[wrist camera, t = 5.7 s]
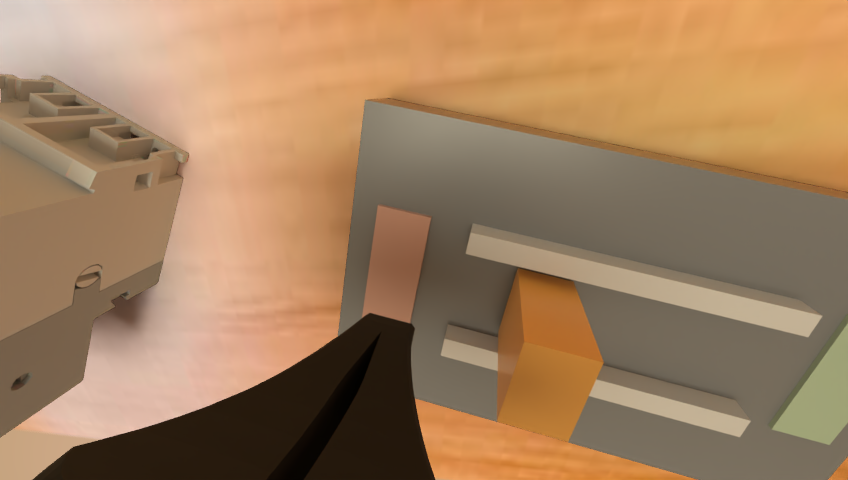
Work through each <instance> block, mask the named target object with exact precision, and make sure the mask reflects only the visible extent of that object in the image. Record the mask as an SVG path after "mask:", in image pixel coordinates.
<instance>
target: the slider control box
mask: <svg viewBox="0 0 848 480" xmlns="http://www.w3.org/2000/svg"><path fill="white" fill-rule="evenodd" d="M518 268H520V269H524V270H528V271H532V272H536V273H540V274H544V275H548V276H552V277H556V278H560V279H565V280H569V281H573V282H574V284H575V287H576V290H577V292H578V295H579V298H580V300H581V303H582V306H583V308H584V311H585V314H586V316H587V319H588V322H589V324H590V327H591V330H592V332H593V335H594V338H595V340H596V343H597V346H598V348H599V351H600V354H601V356H602V359H603V362H604V363H603V366H602V368H601V370H600V372H599V375H598V377H597V379H596V381H595V383H594V386H593V388H592V390H591V392H590V394H589V397H588V399H587V401H586V403H585V406H584V408H583V410H582V412H581V414H580V417H579V419H578V421H577V423H576V426H575V428H574V430H573V432H572V434H571V437H570V439H569V441H568V442H569V443H572V444H576V445H579V446H583V447H586V448H590V449H593V450H597V451H600V452H604V453H607V454H611V455H614V456H618V457H621V458H625V459H628V460H632V461H635V462H639V463H642V464H646V465H649V466H653V467H656V468H659V469H663V470H666V471H670V472H673V473H677V474H680V475H684V476H687V477H691V478H694V479H698V480H828V479H829V478H830V477H831V475H832V474H833V473H834V472H835V471H836V469H837V468H838V467H839V466H840V465H841V464H842V462H843V461H844V460H845V459H846V458H847V457H848V192H843V191H838V190H833V189H829V188H824V187H819V186H814V185H809V184H804V183H799V182H794V181H789V180H785V179H780V178H775V177H770V176H765V175H760V174H755V173H750V172H746V171H741V170H736V169H731V168H726V167H721V166H716V165H711V164H707V163H702V162H697V161H692V160H687V159H682V158H677V157H672V156H667V155H663V154H658V153H653V152H648V151H643V150H638V149H633V148H628V147H624V146H619V145H614V144H609V143H604V142H599V141H594V140H589V139H585V138H580V137H575V136H570V135H565V134H560V133H555V132H550V131H546V130H541V129H536V128H531V127H526V126H521V125H516V124H511V123H506V122H502V121H497V120H492V119H487V118H482V117H477V116H472V115H467V114H463V113H458V112H453V111H448V110H443V109H438V108H433V107H428V106H424V105H419V104H414V103H409V102H404V101H399V100H394V99H389V98H387V99H371V100H365V106H364V114H363V123H362V132H361V140H360V149H359V158H358V166H357V175H356V184H355V192H354V201H353V209H352V218H351V227H350V235H349V244H348V253H347V261H346V270H345V279H344V287H343V296H342V305H341V313H340V322H339V331H338V336H339V335H340V334H342V333H343V332H344V331H346V330H347V329H348V328H350V327H351V326H352V325H354V324H355V323H356V322H357V321H359V320H360V319H361V318H363V317H364V316H365V315H367V314H369V313H373V314H377V315H380V316H384V317H388V318H392V319H396V320H399V321H403V322H407V323H411V324H412V325H413V326H414V328H415V331H414V336H413V341H412V346H411V368H412V382H413V390H414V397H415V398H416V399H419V400H423V401H426V402H430V403H433V404H437V405H440V406H444V407H447V408H451V409H454V410H458V411H461V412H465V413H468V414H472V415H475V416H479V417H482V418H485V419H489V420H492V421H496V422H497V380H498V331H499V328H500V324H501V321H502V318H503V315H504V311H505V308H506V305H507V302H508V298H509V295H510V292H511V289H512V285H513V282H514V279H515V276H516V272H517V269H518ZM499 423H500V422H499ZM506 425H507V424H506ZM513 427H514V426H513ZM520 429H521V428H520ZM527 431H528V430H527ZM534 433H535V432H534ZM541 435H542V434H541ZM548 437H549V436H548Z"/></svg>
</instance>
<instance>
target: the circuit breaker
mask: <svg viewBox="0 0 848 480" xmlns="http://www.w3.org/2000/svg"><path fill="white" fill-rule="evenodd" d="M0 89H1V103H0V437H2V436H3V435H5V434H6V433H7V432H9V431H10V430H12V429H13V428H15V427H16V426H18V425H19V424H21V423H22V422H24V421H25V420H26V419H28V418H29V417H31V416H32V415H34V414H35V413H37V412H38V411H39V410H41V409H42V408H44V407H45V406H47V405H48V404H50V403H51V402H52V401H54V400H55V399H57V398H58V397H60V396H61V395H63V394H64V393H66V392H67V391H68V390H70V389H71V388H73V387H74V386H76V385H77V384H79V383H80V382H81V381H82V380H83V378H84V372H85V367H86V361H87V355H88V350H89V344H90V338H91V332H92V327H93V321H94V319H95V318H97V317H98V316H100V315H102V314H104V313H105V312H107V311H109V310H111V309H112V308H114V307H115V305H114V304H113V303H112V302H111V301H112V300H114V299H116V298H118V297H119V296H121V297H123V298H125V299H126V300H128V299H130V298H132V297H134V296H135V295H137V294H139V293H141V292H143V291H144V290H146V289H148V288H150V287H152V286H153V285H155V284H157V282H158V280H159V276H160V272H161V268H162V264H163V259H164V255H165V251H166V247H167V243H168V239H169V235H170V231H171V226H172V222H173V218H174V214H175V210H176V206H177V202H178V198H179V193H180V189H181V185H182V181H183V178H182V177H181V176H179V175H177V169H178V165H179V162H181V163H184V162H187V160H188V156H189V154H188V153H187V152H185V151H183V150H181V149H179V148H178V147H176V146H174V145H172V144H171V143H169V142H167V141H165V140H163V139H162V138H160V137H158V136H156V135H154V134H153V133H151V132H149V131H147V130H146V129H144V128H142V127H140V126H138V125H137V124H135V123H133V122H131V121H129V120H128V119H126V118H124V117H122V116H121V115H119V114H117V113H115V112H113V111H112V110H110V109H108V108H106V107H104V106H103V105H101V104H99V103H97V102H96V101H94V100H92V99H90V98H88V97H87V96H85V95H83V94H81V93H79V92H78V91H76V90H74V89H72V88H71V87H69V86H67V85H65V84H63V83H62V82H60V81H58V80H56V79H54V78H53V77H51V76H41V80H33V79H19V78H17V77H15V76H14V75H2V74H0ZM80 104H81V105H83V106H80ZM132 133H133V134H134V135H136V136H138V137H140V138H132V139H131V135H132ZM158 150H160V151H158Z"/></svg>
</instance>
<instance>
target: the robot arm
mask: <svg viewBox="0 0 848 480" xmlns="http://www.w3.org/2000/svg"><path fill="white" fill-rule="evenodd" d="M414 331H415V328H414V326H413V325H412V324H411V323H407V322H403V321H399V320H396V319H392V318H388V317H384V316H380V315H377V314H373V313H369V314H367V315H365V316H364V317H363V318H361V319H360V320H359V321H357V322H356V323H355V324H354V325H352V326H351V327H350V328H348V329H347V330H346V331H344V332H343V333H342V334H340V335H339V336H338V337H336V338H335V339H333V340H332V341H330V342H329V343H328V344H326V345H325V346H323V347H322V348H320V349H319V350H317V351H316V352H314V353H313V354H311V355H310V356H308V357H306V358H305V359H303V360H301V361H300V362H298V363H297V364H295V365H293V366H292V367H290V368H288V369H286V370H285V371H283V372H281V373H279V374H277V375H276V376H274V377H272V378H270V379H268V380H266V381H264V382H262V383H260V384H258V385H256V386H254V387H252V388H250V389H248V390H245V391H243V392H241V393H238V394H236V395H234V396H231V397H229V398H226V399H224V400H222V401H219V402H217V403H215V404H212V405H210V406H207V407H205V408H202V409H199V410H196V411H194V412H191V413H188V414H185V415H182V416H180V417H176V418H173V419H170V420H167V421H164V422H161V423H158V424H155V425H152V426H149V427H145V428H142V429H139V430H135V431H131V432H128V433H124V434H120V435H117V436H113V437H109V438H105V439H102V440H98V441H95V442H91V443H87V444H83V445H79V446H75V447H73V448H71V449H70V450H69V451H67V452H66V453H65V454H64V455H62V456H61V457H60V458H59V459H57V460H56V461H55V462H54V463H52V464H51V465H50V466H48V467H47V468H46V469H45V470H43V471H42V472H41V473H40V474H39V475H38V476H36V477H35V478H34V479H33V480H435V477H434V474H433V471H432V468H431V465H430V462H429V459H428V456H427V452H426V448H425V445H424V441H423V437H422V433H421V429H420V425H419V420H418V415H417V409H416V404H415V397H414V390H413V382H412V368H411V346H412V341H413V336H414Z"/></svg>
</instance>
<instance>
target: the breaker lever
mask: <svg viewBox="0 0 848 480" xmlns="http://www.w3.org/2000/svg"><path fill="white" fill-rule="evenodd" d="M603 363H604V362H603V359H602V356H601V354H600V351H599V348H598V346H597V343H596V340H595V338H594V335H593V332H592V330H591V327H590V324H589V322H588V319H587V316H586V314H585V311H584V308H583V306H582V303H581V300H580V298H579V295H578V292H577V290H576V287H575V284H574V282H573V281H569V280H565V279H560V278H556V277H552V276H548V275H544V274H540V273H536V272H532V271H528V270H524V269H520V268H518V269H517V272H516V276H515V279H514V282H513V285H512V289H511V292H510V295H509V298H508V302H507V305H506V308H505V311H504V315H503V318H502V321H501V324H500V328H499V331H498V380H497V422H500V423H503V424H507V425H510V426H514V427H517V428H521V429H524V430H528V431H531V432H535V433H538V434H542V435H545V436H549V437H552V438H555V439H559V440H562V441H566V442H568V441H569V439H570V437H571V434H572V432H573V430H574V428H575V426H576V423H577V421H578V419H579V417H580V414H581V412H582V410H583V408H584V406H585V403H586V401H587V399H588V397H589V394H590V392H591V390H592V388H593V386H594V383H595V381H596V379H597V377H598V375H599V372H600V370H601V368H602V366H603Z"/></svg>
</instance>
